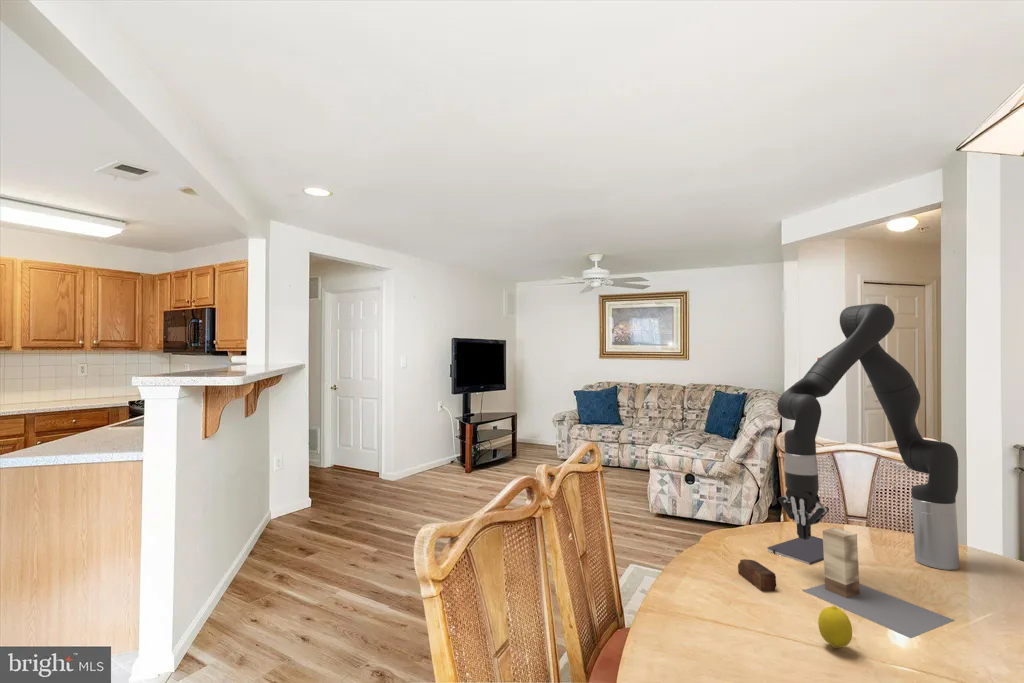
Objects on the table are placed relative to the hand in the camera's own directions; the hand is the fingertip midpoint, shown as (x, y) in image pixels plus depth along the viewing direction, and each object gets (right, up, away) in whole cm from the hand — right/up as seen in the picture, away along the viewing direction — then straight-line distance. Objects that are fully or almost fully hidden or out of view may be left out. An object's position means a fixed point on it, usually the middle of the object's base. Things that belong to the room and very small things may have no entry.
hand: (804, 538), depth 127 cm
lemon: (-12, -9, -31) cm, 35 cm away
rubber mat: (+7, -9, -15) cm, 19 cm away
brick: (-14, -11, -3) cm, 17 cm away
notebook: (+12, -11, +17) cm, 24 cm away
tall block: (+4, -9, -9) cm, 13 cm away
